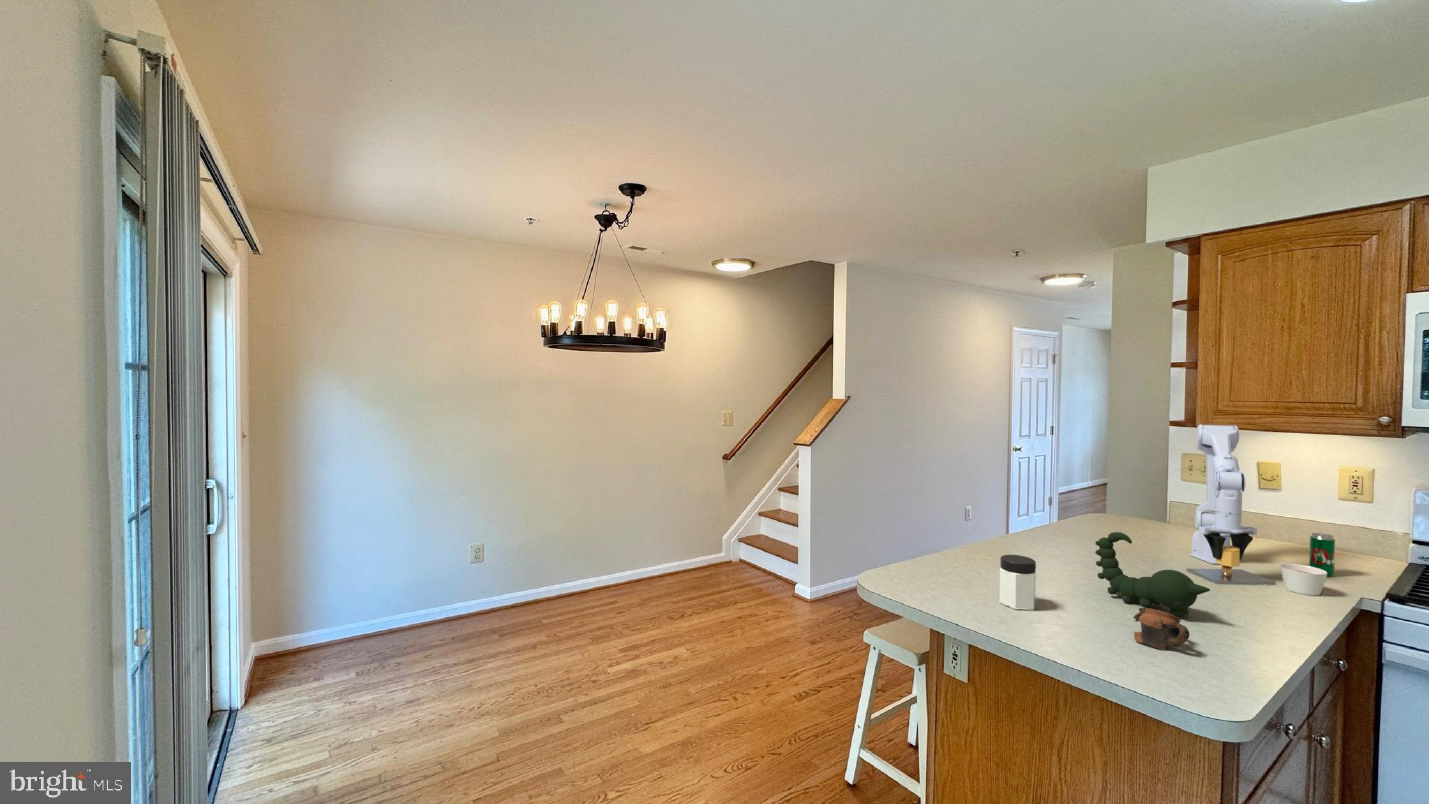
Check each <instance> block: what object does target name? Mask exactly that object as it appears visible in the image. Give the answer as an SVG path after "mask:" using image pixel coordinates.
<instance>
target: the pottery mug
mask: <svg viewBox="0 0 1429 804" xmlns="http://www.w3.org/2000/svg"><path fill="white" fill-rule="evenodd" d="M1138 611H1139V612H1138V613H1136V614H1135V615H1134V616H1133V617H1132V618H1133V619H1134V622H1140V628H1141V629H1140V630H1141V631H1134V632H1133V636H1134V641H1135V640H1136V642H1135V643H1139V644H1144V645H1147V646H1149V647H1151V648H1156V649H1159V650H1161V649H1163V650H1162V651H1165V650H1166V646H1167V643H1168V644H1169V646H1170V647H1171V648H1172V649H1173V648H1178V647H1179V646H1181V645H1183V644H1185V643H1186V642H1187V641H1188V640H1189V638H1190V630H1189V629H1188V627H1187V626H1185V625H1183V624H1180V623H1181V619H1180V618H1178V617H1176V616H1174V615H1172V614H1171V613H1169V612H1166V611H1162V610H1159V609H1154V608H1150V607H1149V608H1144V607H1140V608H1138Z"/></svg>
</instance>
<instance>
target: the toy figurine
mask: <svg viewBox="0 0 1429 804" xmlns="http://www.w3.org/2000/svg"><path fill="white" fill-rule="evenodd" d="M1119 541H1125V542H1127V543H1128V544H1129V545H1131V544H1132V543H1133V541H1132V539H1131V537H1129V536H1128V535H1127V534H1125V533H1123V532H1119V531H1118V532H1117V531H1114V532H1110V533H1109V534H1108V535H1107V537H1101V538H1099V539H1098V540H1096V541H1095V545H1096V546H1098V549H1096V550H1095V552H1094V553H1095V555H1097V556H1099V557H1100V560H1097V561H1096V562H1095V565H1096V566H1097V567H1100V568H1102V572H1098V573H1097V574H1096V575H1097V578H1098V579H1100V580H1104V579H1105V580H1106V581H1107V582H1109V587H1107V593H1108V594H1110V595H1116V594H1117V593H1118V594H1120V595H1121V596H1122V602H1123V603H1125V604H1127V603H1130V604H1131V603H1133V602H1135V603H1136V602H1139V605H1140V606H1141V608H1149V609H1150V608H1152V606H1153V605H1156V606H1162V607H1165V608H1166V609H1169V612H1170V614H1172V615H1174V616H1176V617H1178V618H1179V619H1180V618H1185V617H1186V616H1188V614H1189V608H1190V607H1191V606H1192V605H1194V603H1195V602H1196V601H1197V599H1198V596H1199V595H1202V594H1205V593H1208V592H1210V591H1211V589H1210V588H1209V587H1206V586H1203V585H1199V584H1197V583H1195V582H1194V581H1193V580H1192V579H1191V577H1189V576H1188V575H1186V574H1184V573H1183V572H1181V571H1178V570H1174V569H1163V570H1162V569H1161V570H1159V571H1156V572H1155V573H1153V574H1152V575H1151V576H1142V577H1139V578H1138V577H1134V576H1128V575H1126V574H1124V572H1123V570H1122V568H1121V567H1120V562H1119V561H1118V559H1117V558H1116V557H1117V551H1116V550H1115V548H1114V543H1117V542H1119Z"/></svg>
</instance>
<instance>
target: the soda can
mask: <svg viewBox="0 0 1429 804" xmlns="http://www.w3.org/2000/svg"><path fill="white" fill-rule="evenodd" d="M1335 544H1336V539H1335V538H1334V536H1333V535H1331V534H1328V533H1322V532H1321V533H1320V532H1312V533H1311V535H1310V536H1309V562H1308V564H1309V565H1308V566H1310V567H1315V568H1319V569H1322V570H1324V571H1326V572H1327V576H1328V577H1333V576H1334V575H1335V556H1336V555H1335V554H1336V553H1335V552H1336V550H1335V549H1336V545H1335ZM1328 577H1327V578H1328Z"/></svg>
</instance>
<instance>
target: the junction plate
mask: <svg viewBox="0 0 1429 804" xmlns="http://www.w3.org/2000/svg"><path fill="white" fill-rule="evenodd" d="M1185 571H1186V572H1187V573H1190V574H1192V575H1194V576H1197V577H1199V578H1202V579H1203V580H1207V581H1208V580H1209V582H1211V583H1213V582H1214V583H1213V584H1216V585H1255V586H1256V585H1257V586H1258V585H1259V584H1260V585H1261V586H1262V585H1263V586H1264V584H1266V586H1275V585H1276V581H1274V580H1271V579H1268V578H1265V577H1263V576H1260V575H1258V574H1255V573H1253V572H1249V571H1246V570H1244V569H1242V568H1241V569H1240V568H1239V569H1237V568H1236V569H1235V568H1234V569H1233V567H1231V566H1225V565H1221V568H1186V570H1185ZM1260 585H1259V586H1260Z"/></svg>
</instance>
